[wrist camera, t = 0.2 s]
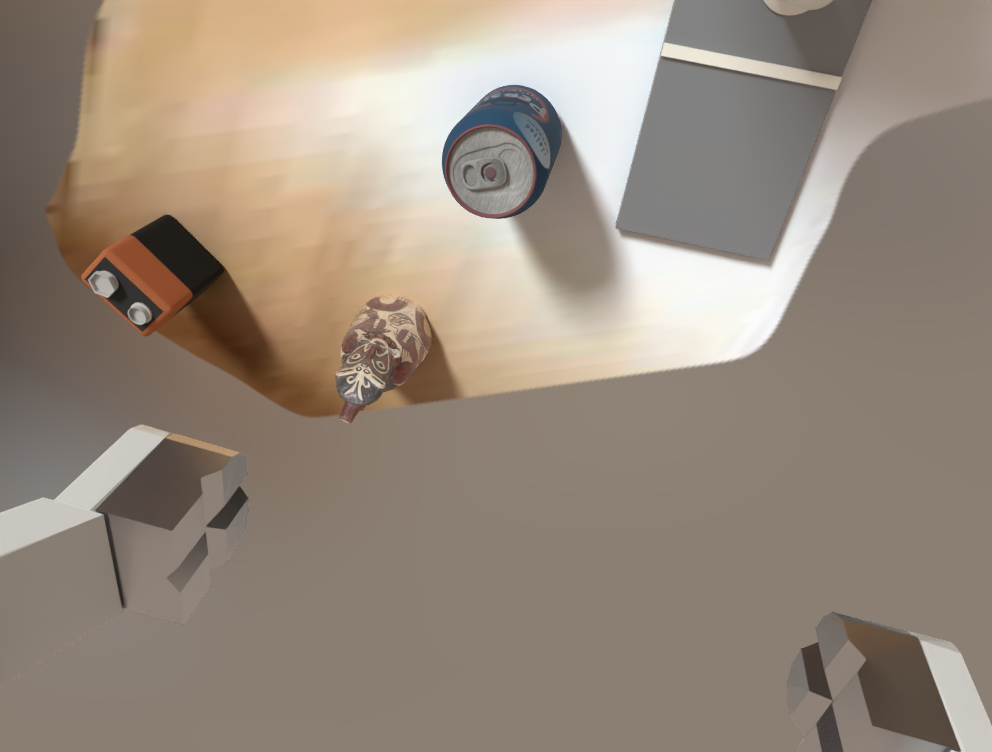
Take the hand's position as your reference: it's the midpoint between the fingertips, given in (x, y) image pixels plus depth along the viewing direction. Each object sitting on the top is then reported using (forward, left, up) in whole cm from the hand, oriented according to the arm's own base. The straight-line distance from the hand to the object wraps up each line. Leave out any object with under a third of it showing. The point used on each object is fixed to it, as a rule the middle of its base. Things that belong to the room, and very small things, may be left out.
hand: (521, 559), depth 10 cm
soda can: (+6, -6, -48) cm, 49 cm away
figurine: (+25, -14, -48) cm, 56 cm away
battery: (+22, -34, -48) cm, 63 cm away
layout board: (-2, +9, -48) cm, 49 cm away
